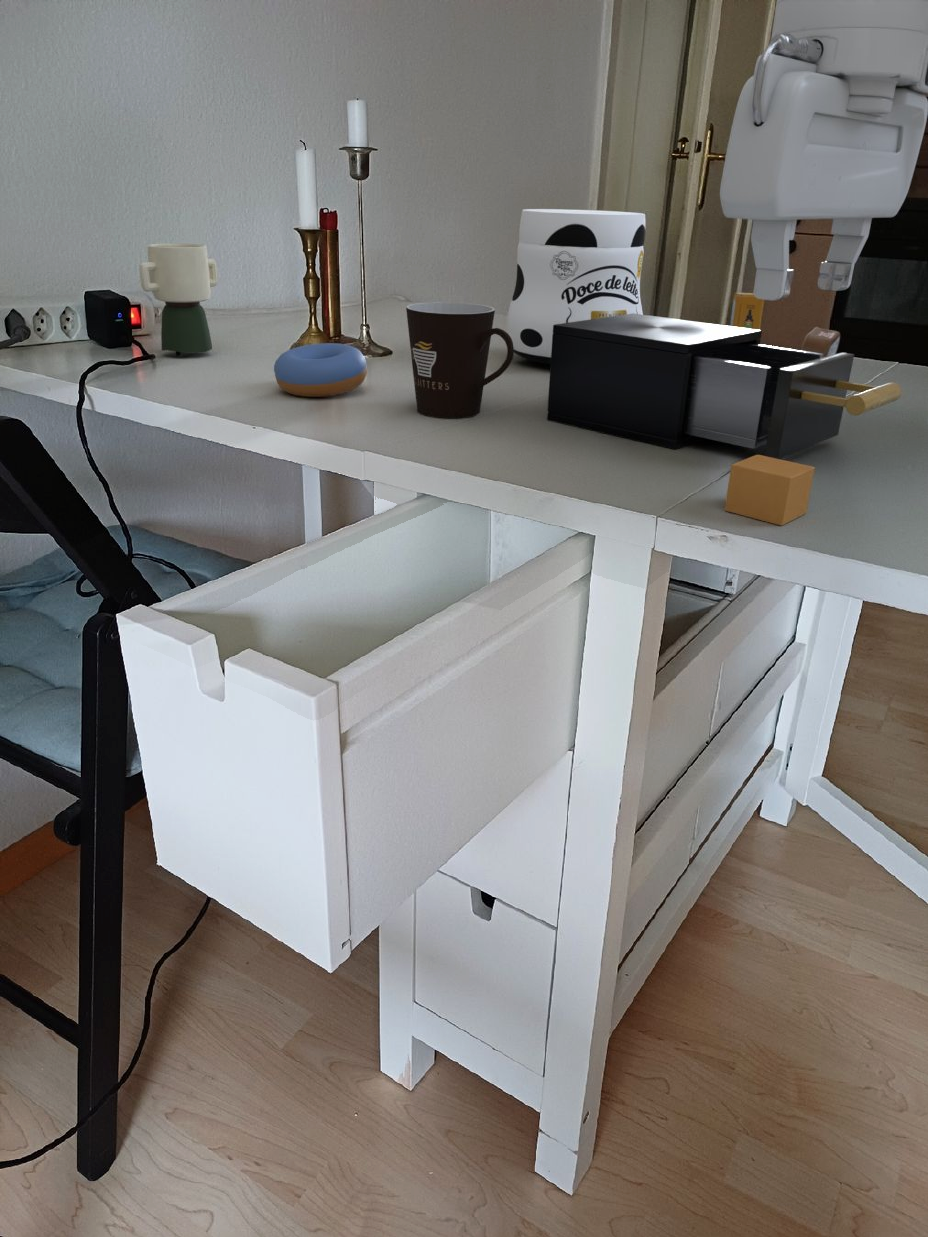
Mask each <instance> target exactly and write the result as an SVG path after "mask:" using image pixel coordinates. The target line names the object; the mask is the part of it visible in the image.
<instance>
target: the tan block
mask: <svg viewBox="0 0 928 1237" xmlns="http://www.w3.org/2000/svg"><path fill="white" fill-rule="evenodd" d="M730 466H731V467H730V471H729V472H730V473H729V479H728V486H727V491H726V498H725V504H724V511H725V512H729V513H733V514H735V515H740V516H743V517H747V518H751V519H753V520H758V521H763V522H765V523H770V524H774V525H776V526H780V527H782V526H784V525H786V524H788V523H790V522H792V521H794V520H796V519H797V518H800V517H802V516H804V515H805V514H807V511H808V507H809V506H808V505H809V500H810V496H811V490H812V485H813V480H814V474H815V471H816V470H815V469H816V467H815V466H812V465H807V464H803V463H798V462H793V461H790V460H784V459H776V458H771V457H767V456H765V455H762V454H755V455H752V456H749V457H747V458H744V459H743V460H739V461H737V462H735V463H734V462H733V463H732V464H731V465H730Z"/></svg>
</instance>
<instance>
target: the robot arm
mask: <svg viewBox="0 0 928 1237" xmlns="http://www.w3.org/2000/svg"><path fill="white" fill-rule="evenodd" d="M755 62H756V64H755V65H754V71H753V75H752V76H751V77H749V78H748V79H747V81H745V83H744V85H743V87H742V89H741V92H740V95H739V97H738V100H737V104H736V106H735V111H734V114H733V120H732V125H731V128H730V133H729V138H728V143H727V147H726V153H725V159H724V164H723V170H722V175H721V180H720V181H721V182H720V187H719V199H720V206H721V210H722V214H723V215H724V217H725V218H728V219H739V220H753V221H752V228H751V235H750V243H751V250H752V254H753V260H754V265H755V268H756V270H755V277H754V284H753V291H752V293H754V296H755V297H756V298H757V299H763V300H764V301H779V300H784V299H786V298H788V297H789V296H790V295H791V290H792V287H791V286H792V282H793V279H794V272H795V269H790V241H793V240H794V238H795V234H796V233H795V232H796V229H797V228H796V227H797V222H798V221H799V220H832V224H831V229H830V234H831V235H833V237H832V240H831V244H830V246H829V249H828V251H827V252H828V253H827V256H826V258H825V261H821V262H820V266H819V271H818V274H819V275H818V278H817V283H816V284H817V287H818V289H820V290H822V291H831V292H839V291H845V290H847V289H849V288H850V286H851V285H852V279H853V276H854V275H853V274H854V269H855V264H856V263H857V261H858V259H859V257H860V255H861V254H862V253H861V252H862V250H863V248H864V246H865V244H866V242H867V240H868V238H869V235H870V230H871V224H872V220H873V219H875V218H876V219H877V218H878V219H881V218H884V219H885V218H894V217H895V216H896V215H898V213H899V211H900V209H901V207H902V206H903V204H904V202H905V200H906V197H907V195H908V193H909V190H910V186H911V184H912V181H913V180H912V179H913V176H914V172H915V169H916V165H917V161H918V157H919V154H920V149H921V146H922V141H923V137H924V134H925V129H926V124H927V121H928V120H927V119H928V98H927V96H926V95H928V0H776V2H775V9H774V16H773V24H772V31H771V38H770V41H769V44H768V45H767V46H766V48H765V49H764V51H763V52H762V54H760V55H759V56H758V57H757V60H756V61H755Z"/></svg>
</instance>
